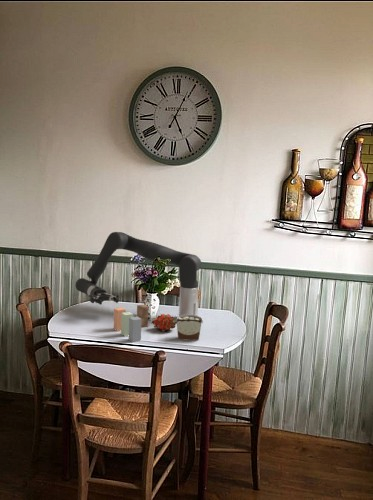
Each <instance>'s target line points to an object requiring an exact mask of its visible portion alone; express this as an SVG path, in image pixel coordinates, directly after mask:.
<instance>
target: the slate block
mask: <svg viewBox="0 0 373 500" xmlns="http://www.w3.org/2000/svg"><path fill="white" fill-rule="evenodd" d="M129 339H130V340H129ZM128 340H129V341H130V342H131V343H137V342H141V341H142V328H141V318H139V317H137V316H133V317H130V318H129V336H128ZM140 340H141V341H140Z"/></svg>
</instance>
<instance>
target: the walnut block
mask: <svg viewBox="0 0 373 500" xmlns="http://www.w3.org/2000/svg"><path fill="white" fill-rule="evenodd" d="M136 317H139V318H141V329H142V328H148V327H149V306H148V305H146V304H139V305H138V304H137V306H136Z"/></svg>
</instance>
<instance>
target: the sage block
mask: <svg viewBox="0 0 373 500" xmlns="http://www.w3.org/2000/svg"><path fill="white" fill-rule="evenodd" d="M130 317H134V313H132V312H130V311H126V312H124V313H121V331H120V335H121V336H123V335H124V336H126V337H129V336H128V335H129V318H130ZM124 336H123V337H124Z"/></svg>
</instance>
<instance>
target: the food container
mask: <svg viewBox="0 0 373 500" xmlns="http://www.w3.org/2000/svg"><path fill="white" fill-rule="evenodd" d="M175 320H176V322H177V323H176V328H177V329H176V331H177V340H178V339H189V340H188V341H191V340H190V339H193V340H192V341H200V335H201V329H202V324H204V321H203V318H202V317H201V316H198V315H197V316H195V315H180V316H179V315H178V316H177V317H176V319H175ZM194 339H195V340H194Z"/></svg>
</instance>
